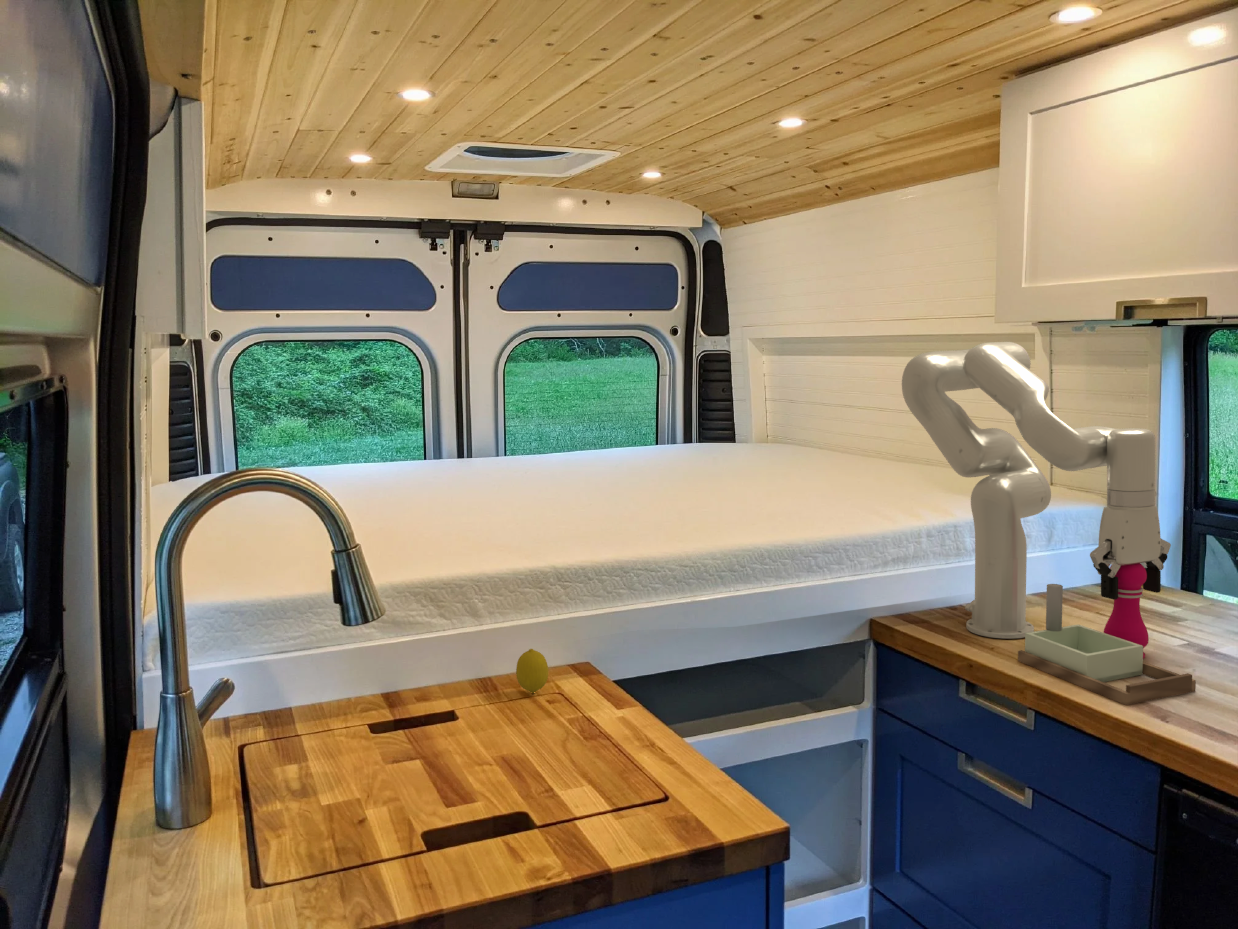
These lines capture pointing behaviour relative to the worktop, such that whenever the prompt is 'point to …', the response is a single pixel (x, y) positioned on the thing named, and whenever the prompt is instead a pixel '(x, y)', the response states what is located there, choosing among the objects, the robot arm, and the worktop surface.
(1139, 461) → the robot arm
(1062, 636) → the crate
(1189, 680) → the bay
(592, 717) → the worktop surface
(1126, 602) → the pepper mill
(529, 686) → the lemon
